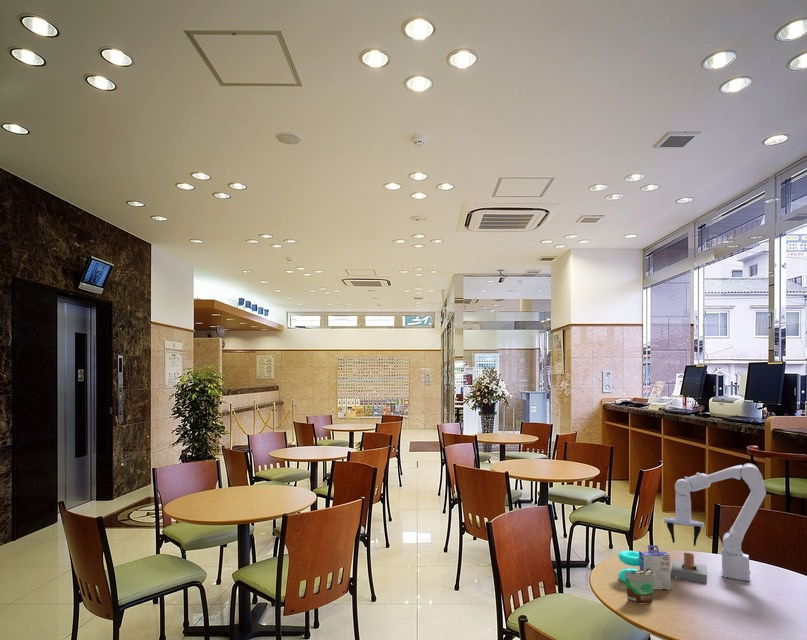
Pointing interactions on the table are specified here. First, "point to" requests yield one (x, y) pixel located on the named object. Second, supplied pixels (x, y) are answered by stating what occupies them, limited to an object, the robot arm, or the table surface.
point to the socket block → (689, 572)
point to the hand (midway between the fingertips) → (684, 543)
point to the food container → (640, 585)
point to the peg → (689, 561)
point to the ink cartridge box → (657, 566)
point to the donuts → (629, 562)
